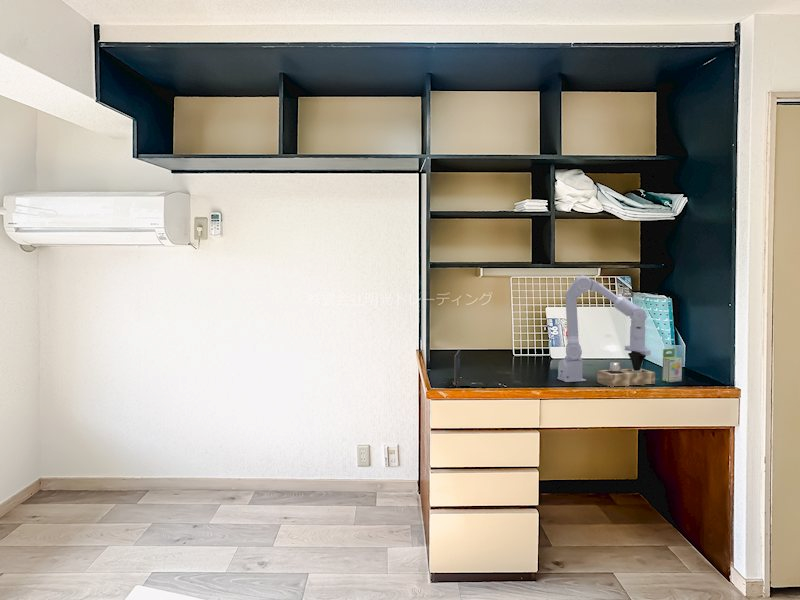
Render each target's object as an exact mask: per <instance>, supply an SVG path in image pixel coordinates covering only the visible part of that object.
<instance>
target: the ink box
mask: <svg viewBox="0 0 800 600" xmlns="http://www.w3.org/2000/svg"><path fill="white" fill-rule="evenodd" d="M662 351H663V352H662V374H661V376H662V377H661V381H662V382H665V381H666V382H665V383H669V382H670V383H675V382H682V377H683V375H682V372H683V367H682V366H683V365H682V364H683V358H682V357H680V356H675V355H676V354H675V353H676V352H675V351H676V348H664V349H662ZM668 352H671V353H668Z"/></svg>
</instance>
